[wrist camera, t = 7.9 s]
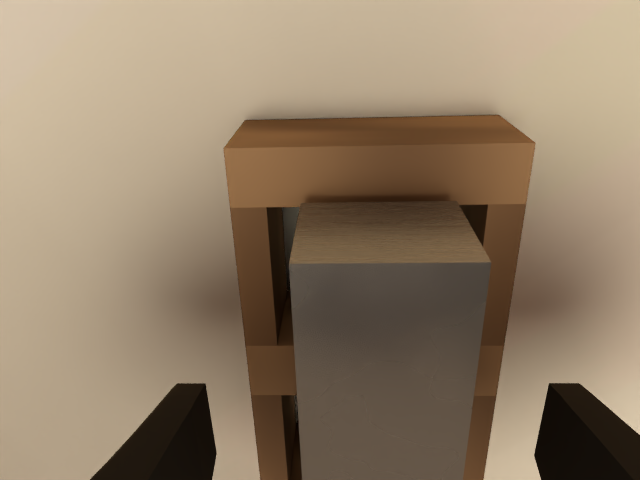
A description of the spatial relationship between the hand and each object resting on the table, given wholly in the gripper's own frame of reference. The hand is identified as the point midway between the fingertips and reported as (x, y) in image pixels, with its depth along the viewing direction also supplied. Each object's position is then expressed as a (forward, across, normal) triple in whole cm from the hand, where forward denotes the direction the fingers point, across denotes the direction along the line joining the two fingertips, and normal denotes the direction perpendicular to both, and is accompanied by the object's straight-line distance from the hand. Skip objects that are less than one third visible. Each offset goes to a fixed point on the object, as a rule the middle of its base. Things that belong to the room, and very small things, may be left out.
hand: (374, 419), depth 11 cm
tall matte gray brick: (+4, 0, 0) cm, 4 cm away
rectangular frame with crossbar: (+4, 0, 0) cm, 4 cm away
